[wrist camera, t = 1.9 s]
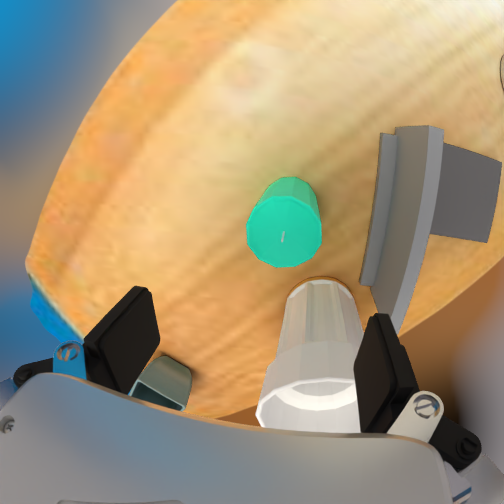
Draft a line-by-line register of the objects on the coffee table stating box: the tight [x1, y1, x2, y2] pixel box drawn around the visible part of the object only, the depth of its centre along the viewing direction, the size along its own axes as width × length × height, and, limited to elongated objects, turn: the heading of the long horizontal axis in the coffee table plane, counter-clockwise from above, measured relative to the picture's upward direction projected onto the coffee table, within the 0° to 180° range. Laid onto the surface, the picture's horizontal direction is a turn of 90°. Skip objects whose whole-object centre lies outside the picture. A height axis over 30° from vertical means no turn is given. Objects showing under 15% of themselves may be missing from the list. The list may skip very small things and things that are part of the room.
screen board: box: [359, 126, 444, 334], centre depth 25 cm, size 5×20×9 cm, turn 178°
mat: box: [430, 143, 502, 243], centre depth 25 cm, size 11×11×1 cm
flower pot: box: [129, 356, 192, 412], centre depth 42 cm, size 9×9×9 cm
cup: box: [256, 276, 364, 433], centre depth 27 cm, size 11×11×17 cm
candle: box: [246, 177, 322, 268], centre depth 25 cm, size 6×6×12 cm
